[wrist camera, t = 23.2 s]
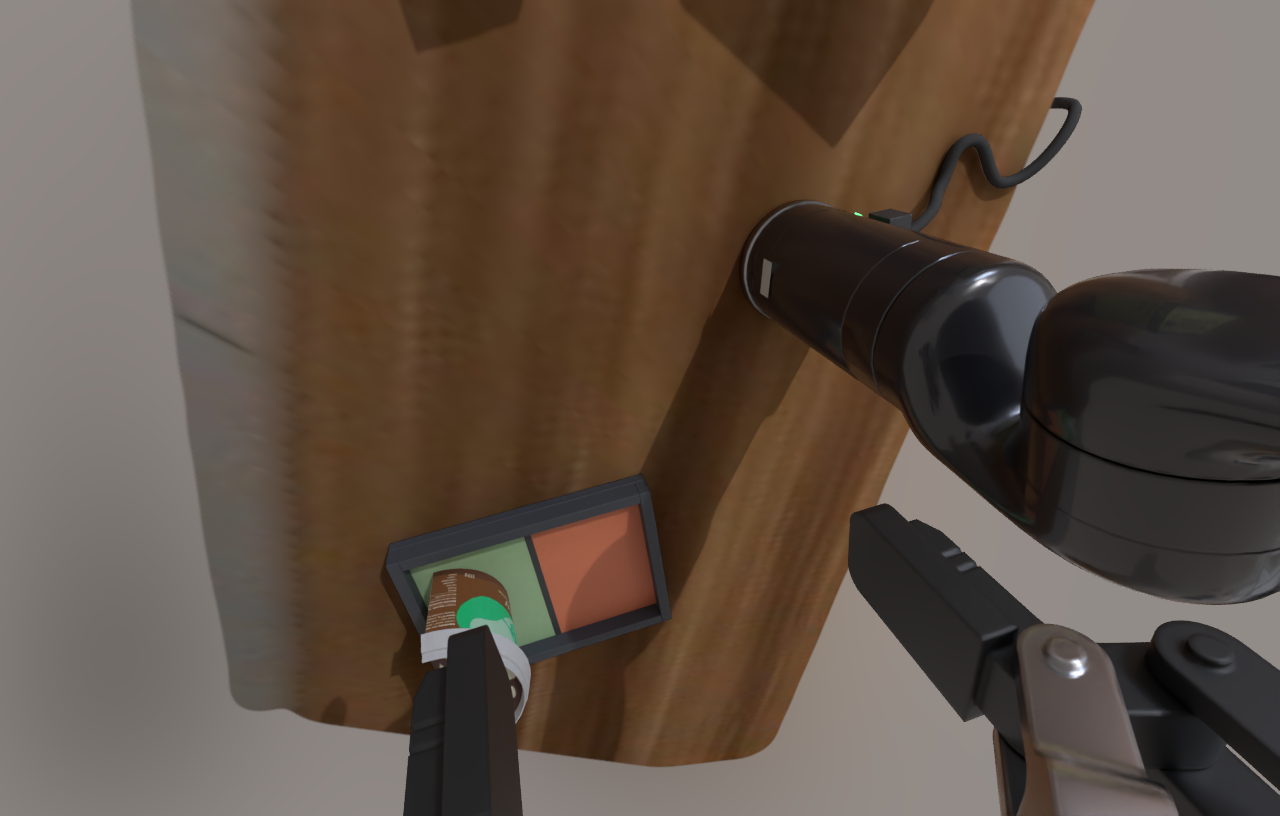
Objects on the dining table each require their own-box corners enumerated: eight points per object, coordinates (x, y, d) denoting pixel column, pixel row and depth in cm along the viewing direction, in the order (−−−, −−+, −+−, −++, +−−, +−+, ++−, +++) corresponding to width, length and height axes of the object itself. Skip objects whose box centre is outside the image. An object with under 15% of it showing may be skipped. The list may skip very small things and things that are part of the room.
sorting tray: (641, 473, 52) (650, 491, 49) (663, 598, 60) (672, 618, 57) (389, 543, 48) (385, 566, 46) (447, 666, 56) (447, 691, 54)
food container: (537, 632, 56) (551, 728, 47) (474, 653, 55) (476, 756, 46) (499, 537, 49) (506, 628, 41) (426, 560, 49) (418, 657, 40)
